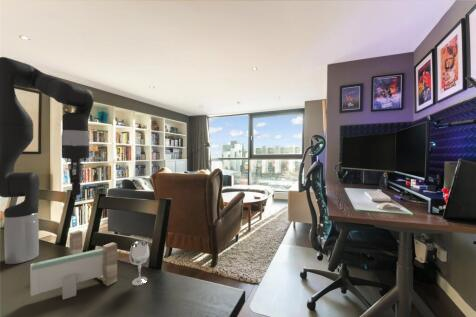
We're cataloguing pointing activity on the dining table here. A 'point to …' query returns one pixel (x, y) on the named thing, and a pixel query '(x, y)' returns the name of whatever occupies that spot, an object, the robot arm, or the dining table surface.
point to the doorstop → (69, 286)
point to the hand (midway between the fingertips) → (76, 194)
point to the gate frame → (108, 257)
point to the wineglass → (139, 258)
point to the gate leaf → (65, 270)
